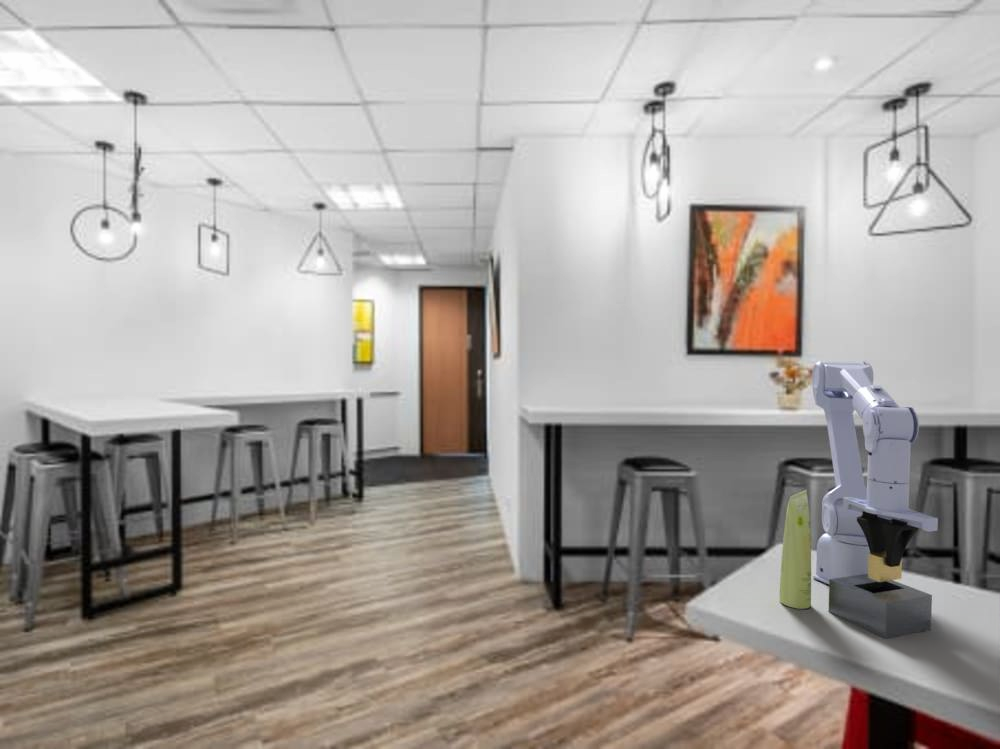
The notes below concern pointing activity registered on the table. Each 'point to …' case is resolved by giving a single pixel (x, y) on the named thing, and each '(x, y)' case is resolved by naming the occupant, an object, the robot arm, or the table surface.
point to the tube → (796, 554)
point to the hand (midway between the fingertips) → (885, 563)
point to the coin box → (880, 605)
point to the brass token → (882, 568)
